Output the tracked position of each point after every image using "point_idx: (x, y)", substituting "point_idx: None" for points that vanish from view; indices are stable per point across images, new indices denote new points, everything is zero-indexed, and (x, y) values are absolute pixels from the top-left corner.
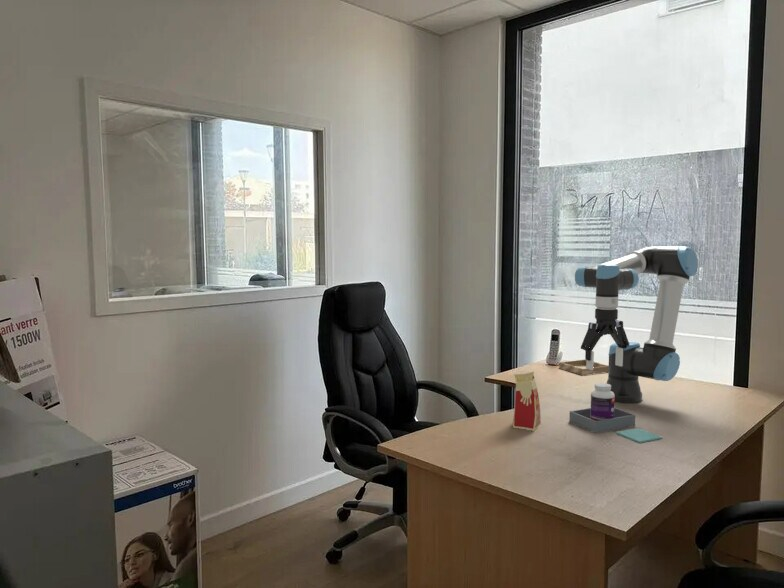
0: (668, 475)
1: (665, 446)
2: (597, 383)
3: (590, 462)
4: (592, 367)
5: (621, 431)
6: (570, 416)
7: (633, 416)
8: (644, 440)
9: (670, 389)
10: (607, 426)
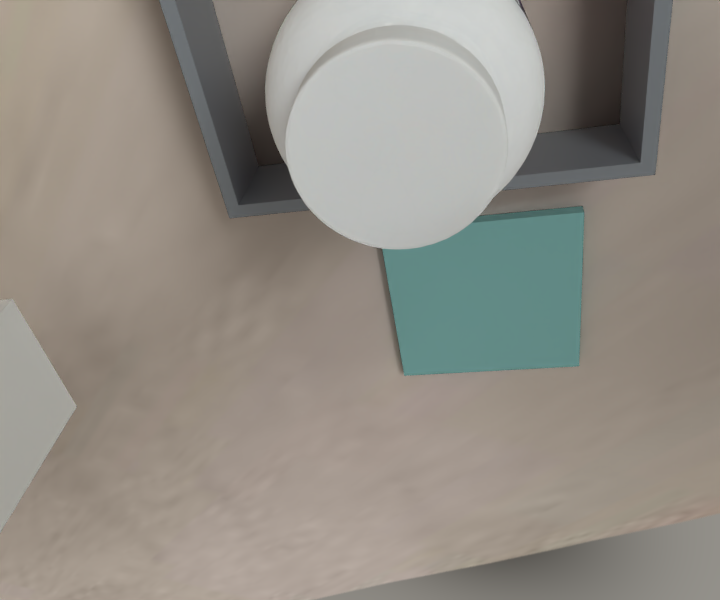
0: (289, 574)
1: (499, 427)
2: (364, 63)
3: (60, 446)
4: (35, 443)
5: None
6: None
7: (628, 172)
8: (441, 373)
9: None
10: None
